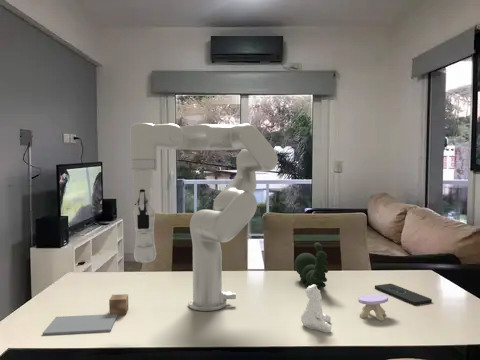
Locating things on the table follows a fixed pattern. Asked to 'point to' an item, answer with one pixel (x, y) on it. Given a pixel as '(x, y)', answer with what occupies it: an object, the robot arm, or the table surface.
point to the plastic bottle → (145, 238)
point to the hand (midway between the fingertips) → (144, 226)
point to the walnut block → (118, 304)
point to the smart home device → (403, 294)
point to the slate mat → (81, 324)
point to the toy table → (373, 305)
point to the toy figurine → (312, 267)
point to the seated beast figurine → (315, 311)
